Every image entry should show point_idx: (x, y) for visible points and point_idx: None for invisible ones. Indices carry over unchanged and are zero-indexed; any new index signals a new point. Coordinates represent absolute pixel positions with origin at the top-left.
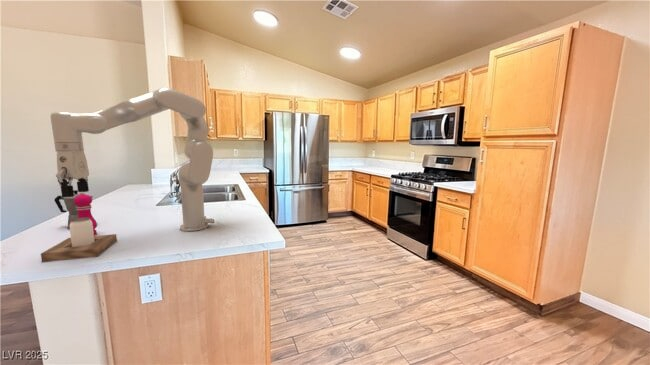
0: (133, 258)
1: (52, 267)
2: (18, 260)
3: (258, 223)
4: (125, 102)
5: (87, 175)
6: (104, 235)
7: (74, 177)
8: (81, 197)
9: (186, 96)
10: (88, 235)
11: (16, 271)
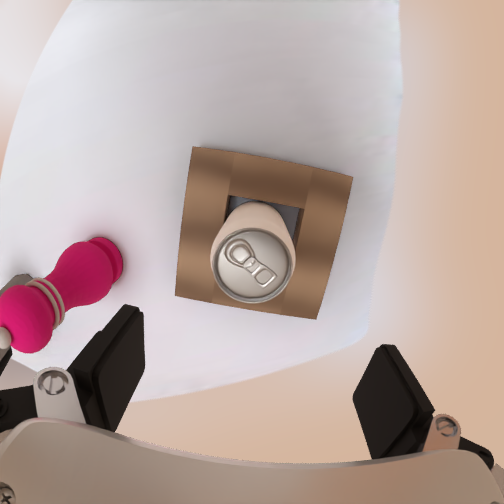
0: (400, 87)
1: (369, 269)
2: (267, 357)
3: None
4: None
5: (98, 445)
6: (192, 185)
7: (481, 461)
8: (27, 331)
9: None
10: (279, 219)
11: (349, 332)
